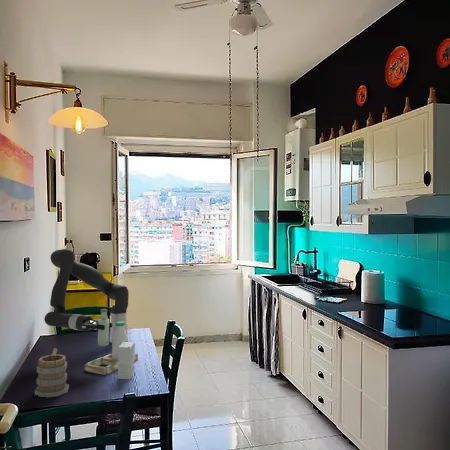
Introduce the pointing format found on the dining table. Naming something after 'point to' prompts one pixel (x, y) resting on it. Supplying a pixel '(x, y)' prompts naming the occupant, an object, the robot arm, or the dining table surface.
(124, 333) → the milk bottle
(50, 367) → the tankard
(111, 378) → the dining table surface
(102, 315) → the sage bottle
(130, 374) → the skincare box
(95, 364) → the frame
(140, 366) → the dining table surface
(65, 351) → the dining table surface
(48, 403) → the dining table surface
